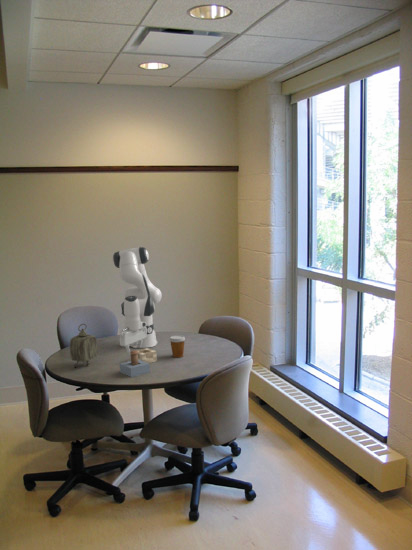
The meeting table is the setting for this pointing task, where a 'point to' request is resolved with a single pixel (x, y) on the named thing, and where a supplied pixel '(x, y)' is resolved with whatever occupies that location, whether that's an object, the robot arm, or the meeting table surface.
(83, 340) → the tabletop clock
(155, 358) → the mount
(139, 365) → the socket
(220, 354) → the meeting table surface
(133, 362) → the pin
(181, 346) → the disposable coffee cup
